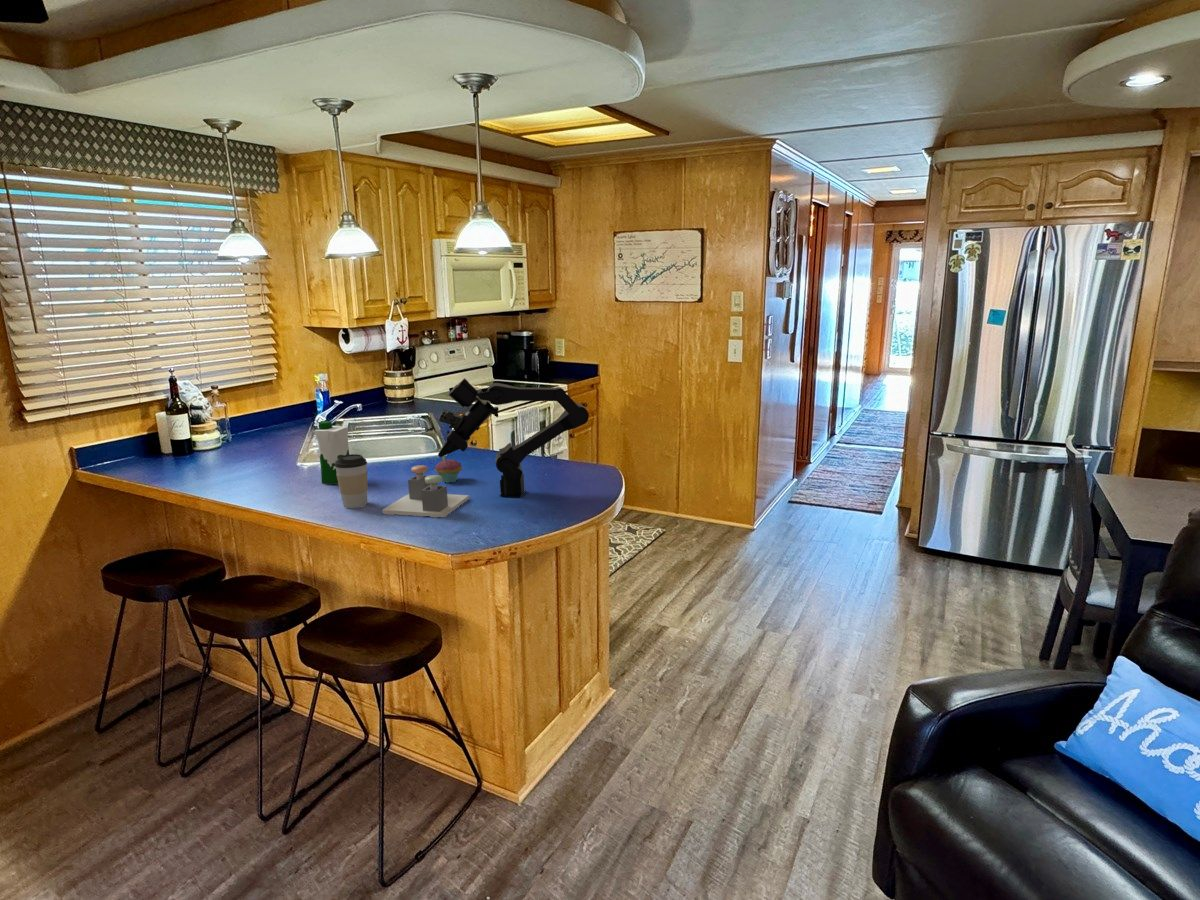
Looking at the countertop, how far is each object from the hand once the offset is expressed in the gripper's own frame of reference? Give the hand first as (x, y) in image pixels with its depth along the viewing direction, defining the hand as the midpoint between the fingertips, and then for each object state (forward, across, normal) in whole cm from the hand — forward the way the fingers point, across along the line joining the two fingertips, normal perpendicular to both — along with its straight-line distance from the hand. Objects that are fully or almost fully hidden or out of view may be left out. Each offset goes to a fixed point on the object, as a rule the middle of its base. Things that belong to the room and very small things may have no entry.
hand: (439, 456), depth 205 cm
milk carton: (+35, -28, -15) cm, 47 cm away
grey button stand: (+12, +6, +7) cm, 15 cm away
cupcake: (+9, -20, +11) cm, 24 cm away
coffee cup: (+28, -1, -8) cm, 29 cm away
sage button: (+8, +12, +6) cm, 16 cm away
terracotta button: (+11, 0, +3) cm, 12 cm away
